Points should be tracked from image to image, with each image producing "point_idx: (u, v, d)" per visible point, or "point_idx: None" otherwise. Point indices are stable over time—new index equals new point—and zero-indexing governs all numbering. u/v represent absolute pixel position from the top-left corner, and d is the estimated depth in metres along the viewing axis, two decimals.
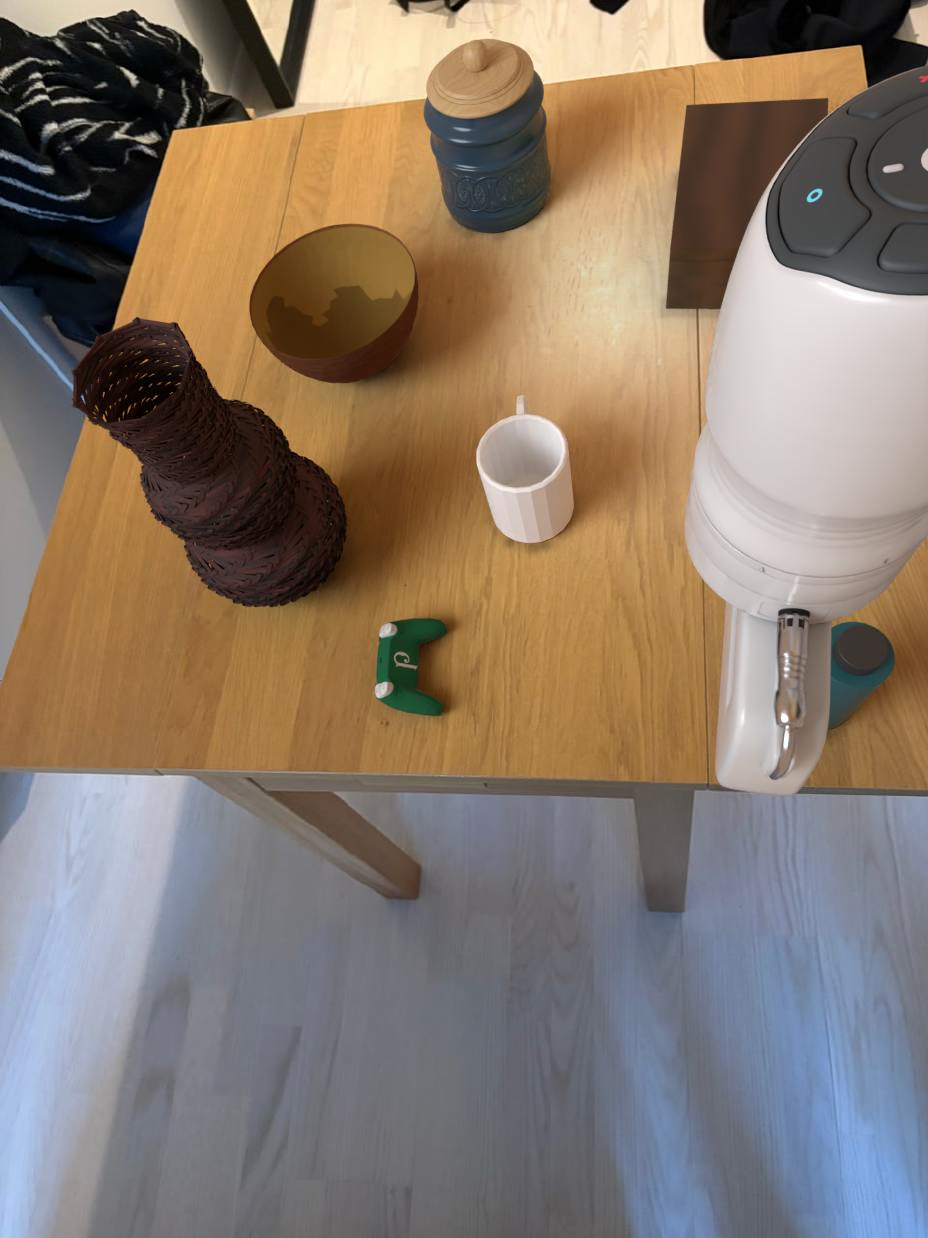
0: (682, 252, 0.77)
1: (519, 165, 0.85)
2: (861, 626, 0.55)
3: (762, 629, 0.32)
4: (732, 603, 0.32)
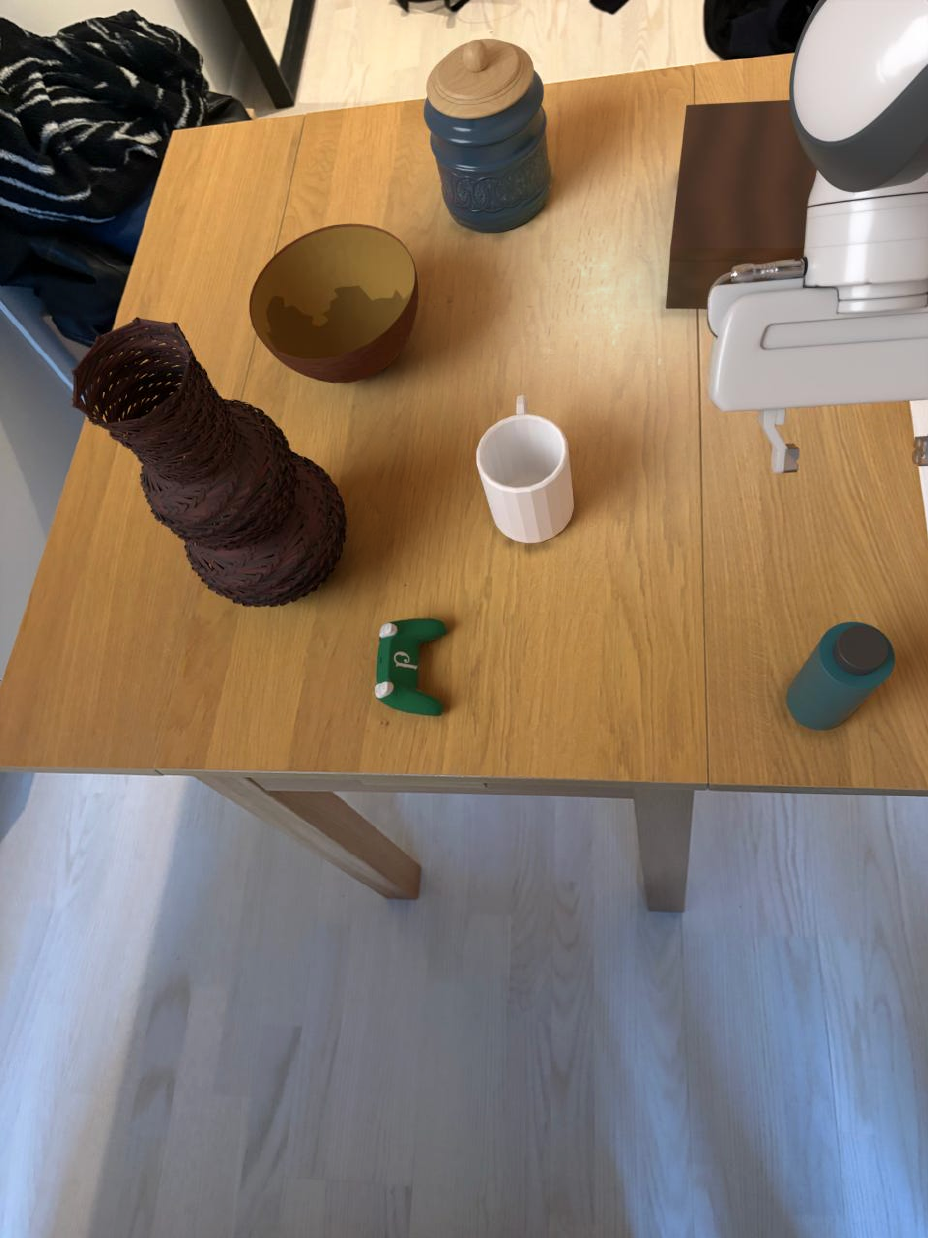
0: (682, 252, 0.77)
1: (519, 165, 0.85)
2: (861, 626, 0.55)
3: None
4: None
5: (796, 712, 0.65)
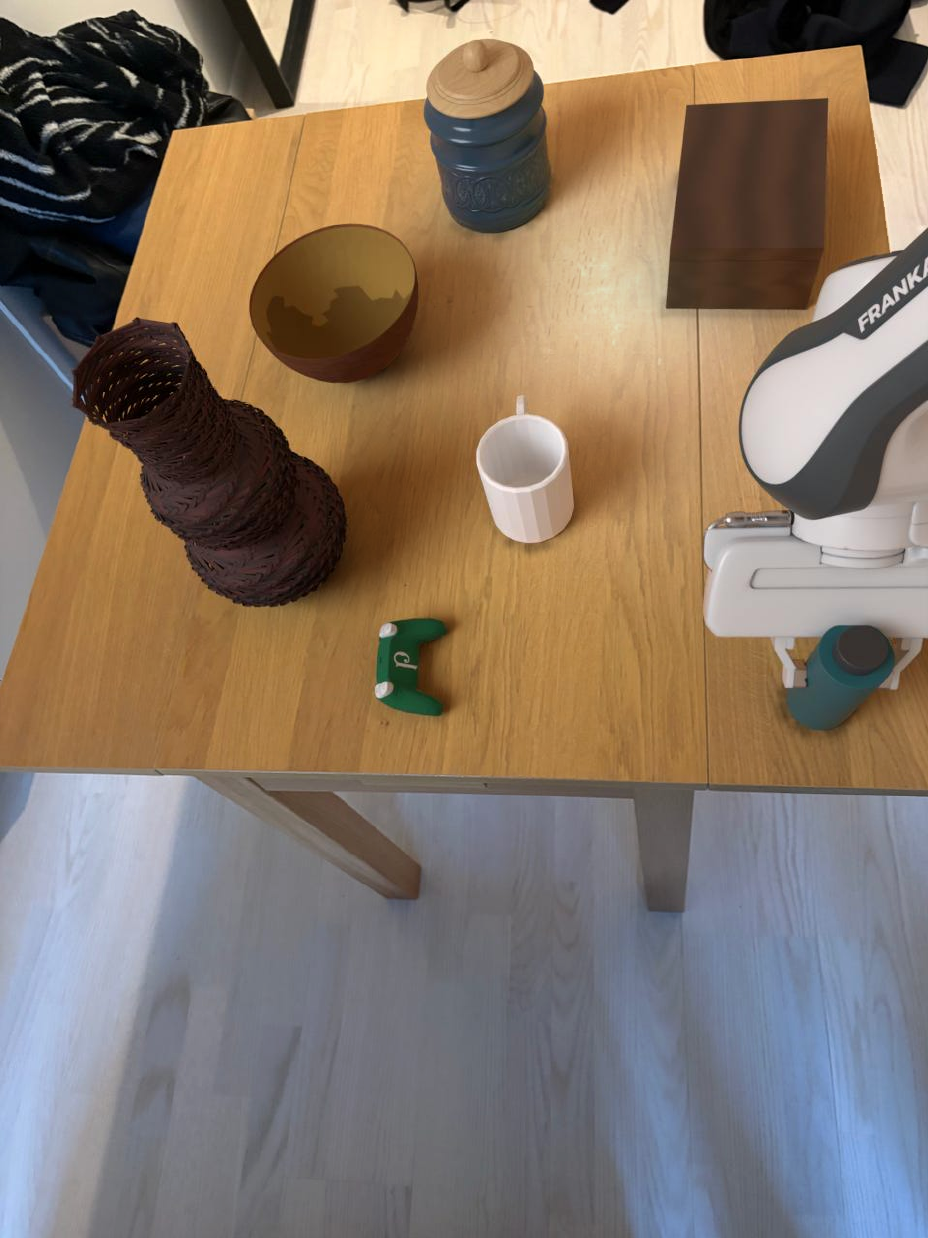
0: (682, 252, 0.77)
1: (519, 165, 0.85)
2: (861, 626, 0.55)
3: None
4: None
5: (796, 712, 0.65)
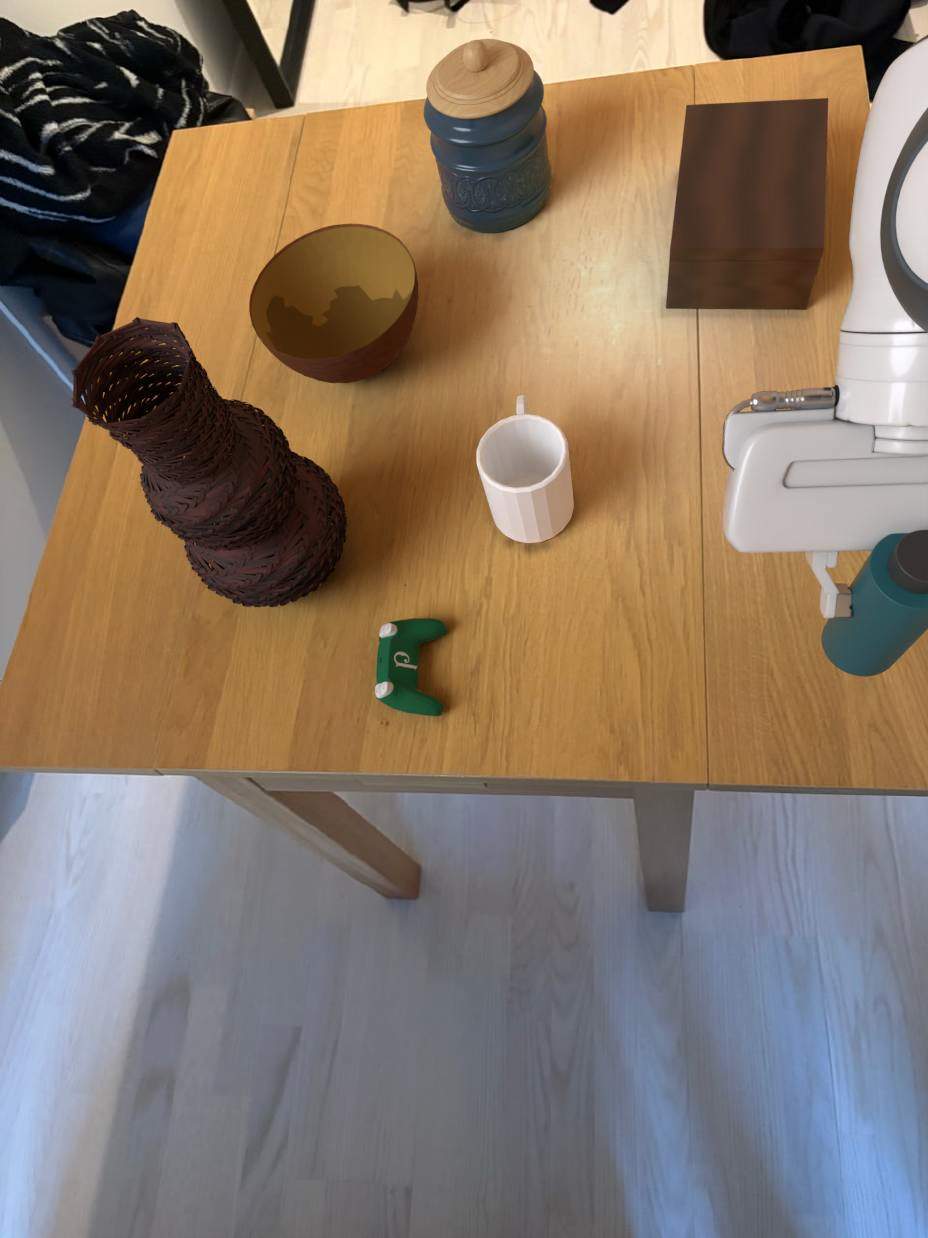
0: (682, 252, 0.77)
1: (519, 165, 0.85)
2: (925, 531, 0.43)
3: None
4: None
5: (835, 654, 0.53)
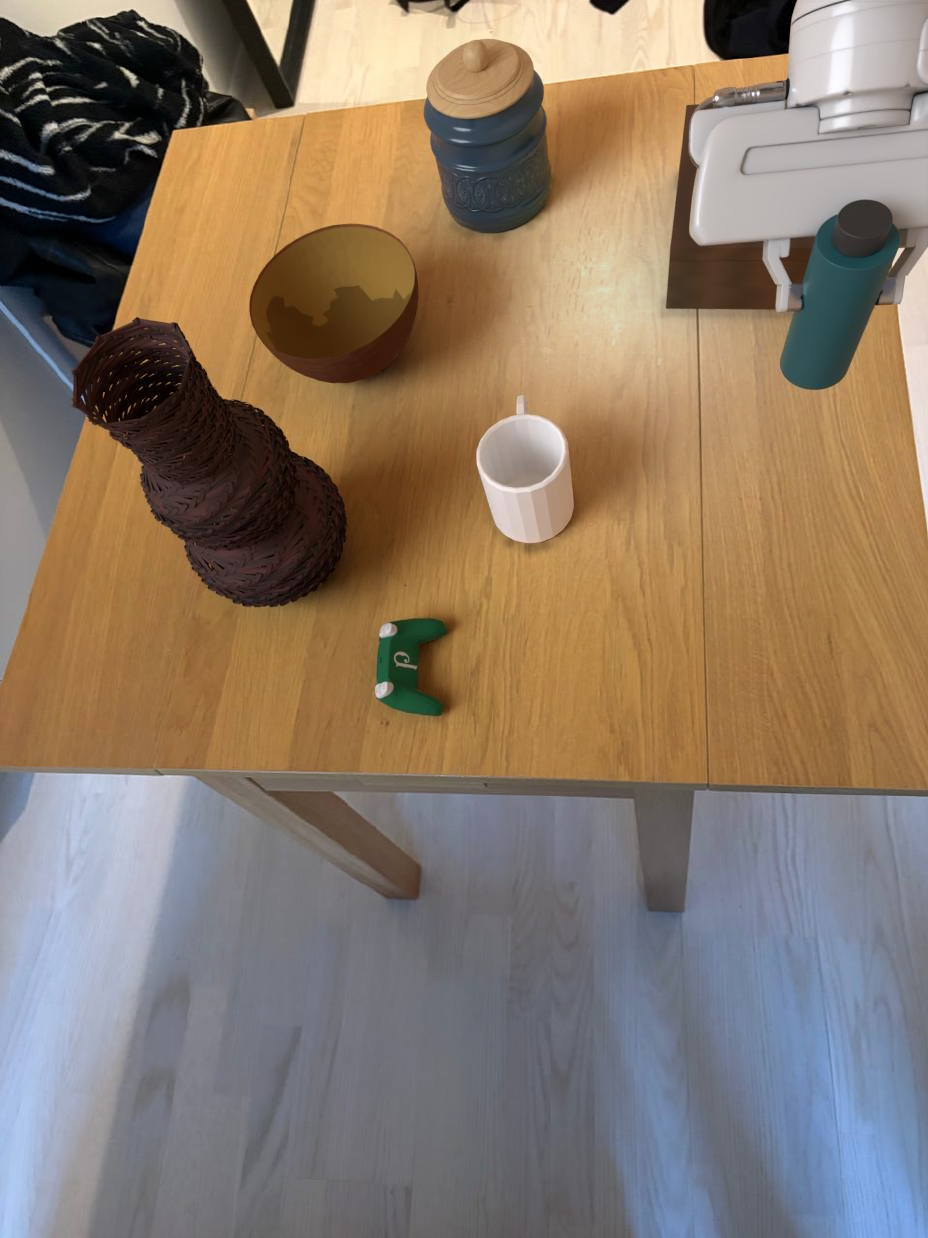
0: (682, 252, 0.77)
1: (519, 165, 0.85)
2: (863, 200, 0.49)
3: None
4: None
5: (790, 367, 0.60)
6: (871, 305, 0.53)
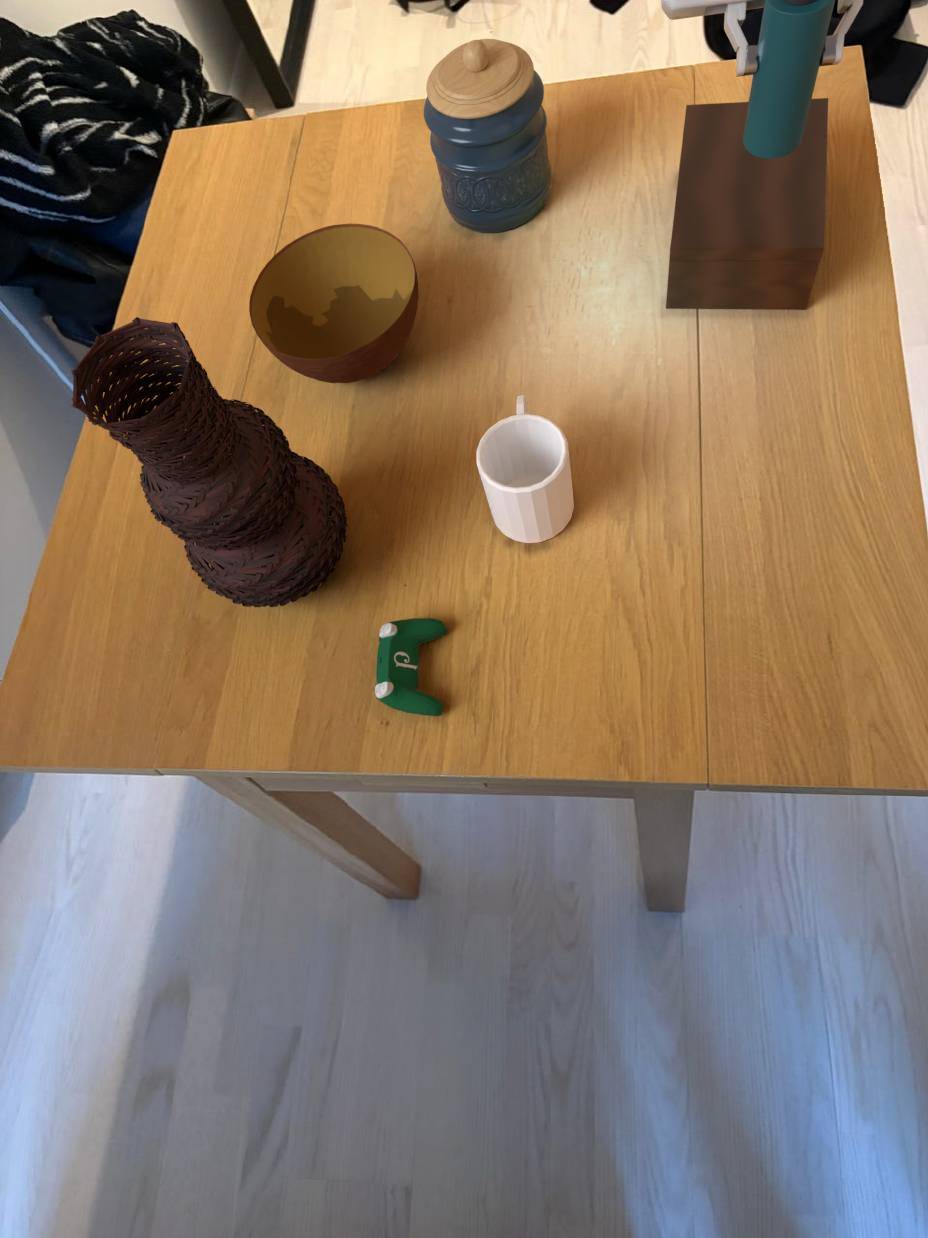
0: (682, 252, 0.77)
1: (519, 165, 0.85)
2: None
3: None
4: None
5: (751, 137, 0.69)
6: (815, 58, 0.62)
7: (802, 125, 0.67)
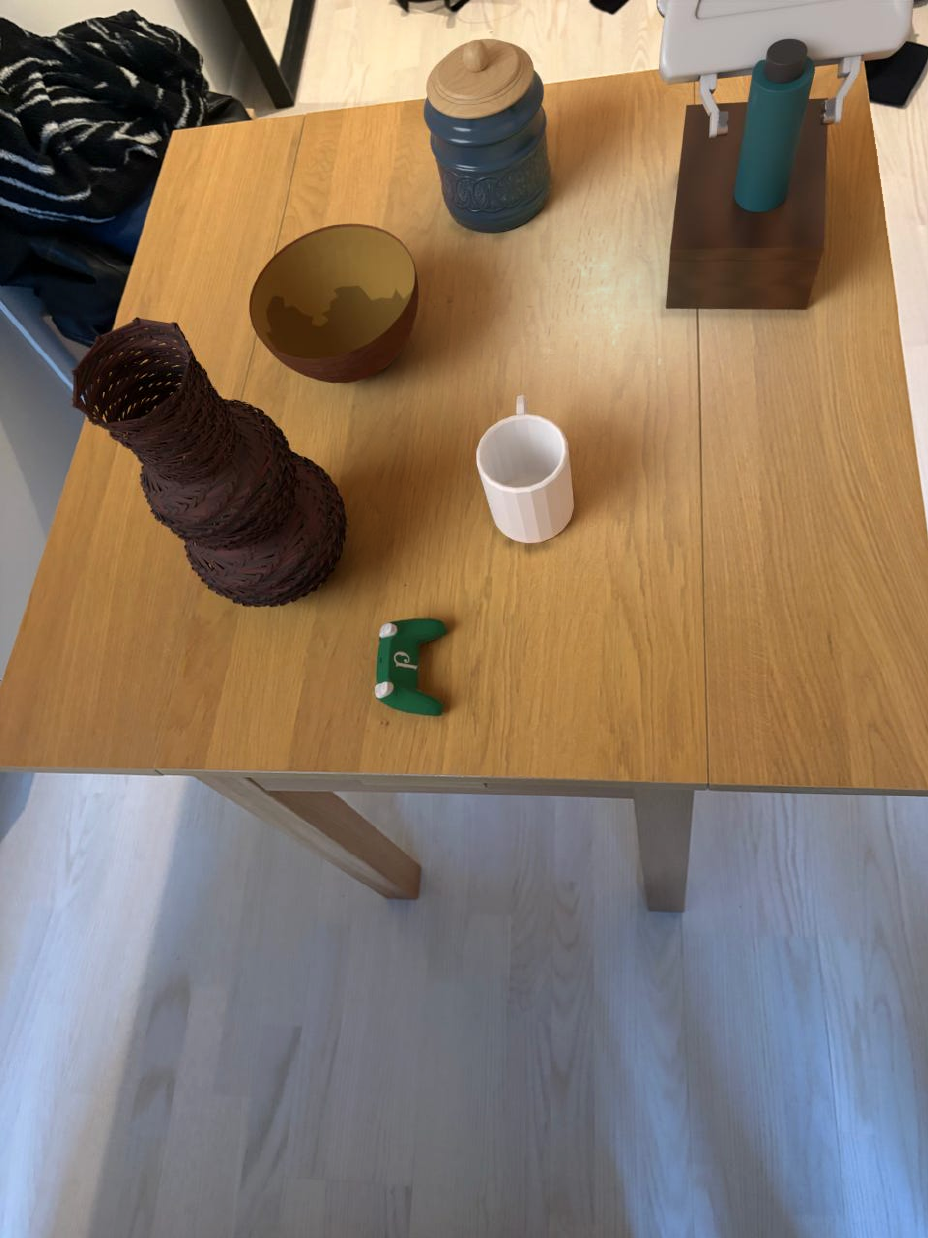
0: (682, 252, 0.77)
1: (519, 165, 0.85)
2: (786, 39, 0.66)
3: None
4: None
5: (741, 193, 0.76)
6: (797, 127, 0.69)
7: (787, 183, 0.75)
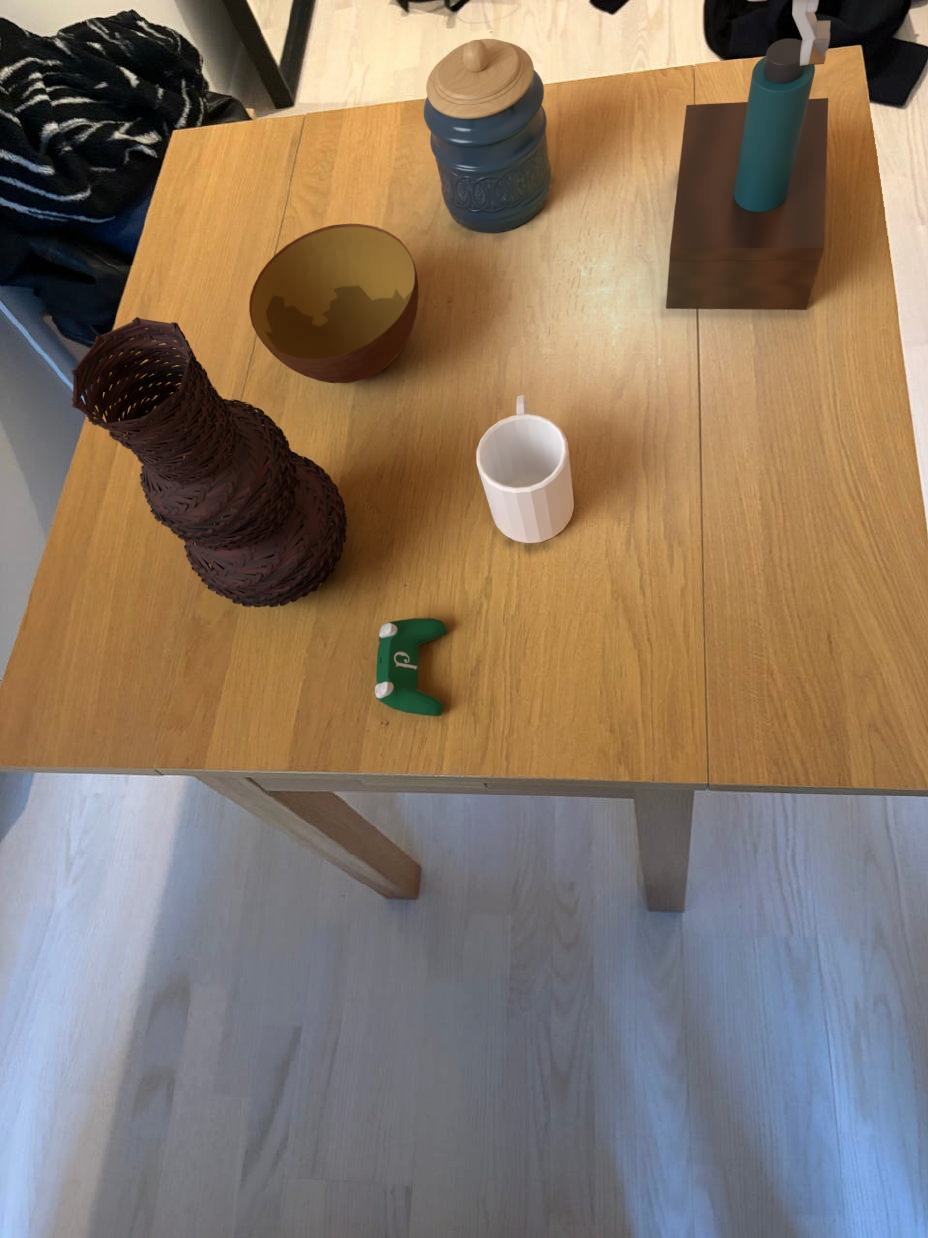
0: (682, 252, 0.77)
1: (519, 165, 0.85)
2: (786, 39, 0.66)
3: None
4: None
5: (741, 193, 0.76)
6: (797, 127, 0.69)
7: (787, 183, 0.75)
